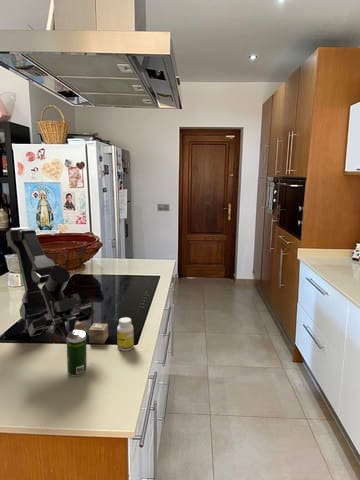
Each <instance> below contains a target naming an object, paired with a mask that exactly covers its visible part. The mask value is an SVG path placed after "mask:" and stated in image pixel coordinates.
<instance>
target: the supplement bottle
mask: <svg viewBox="0 0 360 480" xmlns="http://www.w3.org/2000/svg"><path fill="white" fill-rule="evenodd" d="M134 335H135V334H134V325H133V324H132V319H131V318H130V317H127V316H125V317H121V318H119V320H118V325H117V328H116V337H117V338H116V345H117V349H118V350H120V351H129V350H132V349H133V348H134V344H135V343H134V342H135V341H134Z"/></svg>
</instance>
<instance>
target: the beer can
mask: <svg viewBox="0 0 360 480" xmlns="http://www.w3.org/2000/svg"><path fill="white" fill-rule="evenodd" d="M87 359H88V358H87V335H86V333H85V332H84V331H81V330H74V331H71V332H69V333H68V335H67V343H66V366H67V367H66V368H67V369H66V370H67V374H68V375H69V376H70V377H81V376H82V375H84V374H85V373H86V372H87V367H88V366H87Z"/></svg>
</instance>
